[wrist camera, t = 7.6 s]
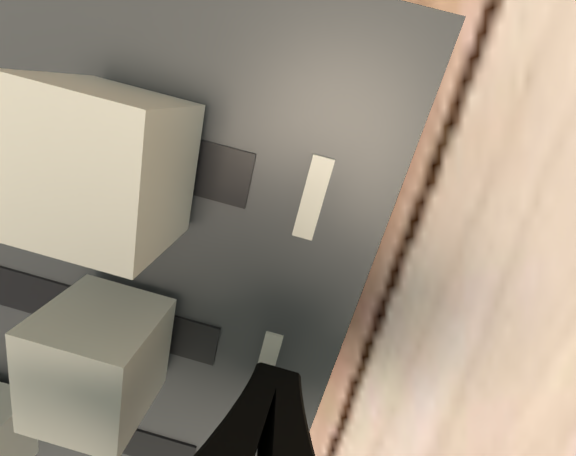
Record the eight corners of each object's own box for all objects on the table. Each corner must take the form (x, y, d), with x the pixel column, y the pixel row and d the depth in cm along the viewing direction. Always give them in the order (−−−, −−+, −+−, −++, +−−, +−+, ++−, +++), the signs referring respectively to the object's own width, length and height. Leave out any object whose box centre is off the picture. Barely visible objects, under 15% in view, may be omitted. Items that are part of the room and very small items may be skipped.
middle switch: (85, 356, 12) (14, 432, 10) (87, 273, 11) (5, 333, 8) (165, 380, 12) (116, 463, 10) (176, 299, 11) (123, 368, 8)
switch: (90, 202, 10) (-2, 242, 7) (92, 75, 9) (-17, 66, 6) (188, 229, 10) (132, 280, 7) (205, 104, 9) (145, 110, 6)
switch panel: (-39, 393, 19) (-104, 445, 16) (-121, -102, 11) (-279, -171, 8) (273, 486, 19) (262, 556, 16) (431, 37, 11) (467, 15, 8)
